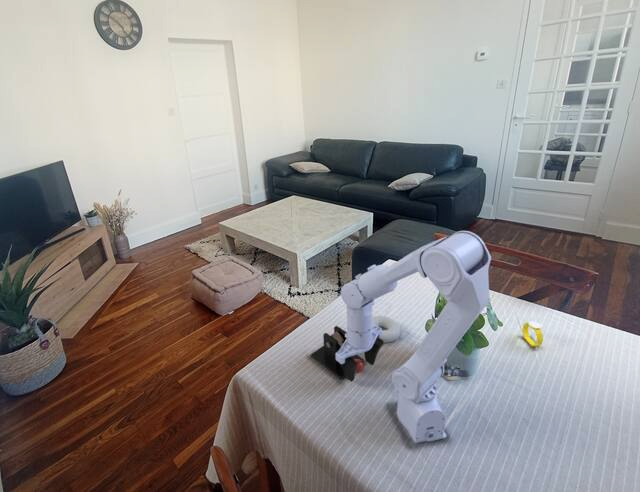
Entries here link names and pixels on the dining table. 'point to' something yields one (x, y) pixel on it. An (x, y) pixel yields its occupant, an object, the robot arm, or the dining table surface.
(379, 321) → the donut
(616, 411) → the dining table surface
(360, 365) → the lever
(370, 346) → the robot arm
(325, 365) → the bracket
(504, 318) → the dining table surface
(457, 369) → the blueberries
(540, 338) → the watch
